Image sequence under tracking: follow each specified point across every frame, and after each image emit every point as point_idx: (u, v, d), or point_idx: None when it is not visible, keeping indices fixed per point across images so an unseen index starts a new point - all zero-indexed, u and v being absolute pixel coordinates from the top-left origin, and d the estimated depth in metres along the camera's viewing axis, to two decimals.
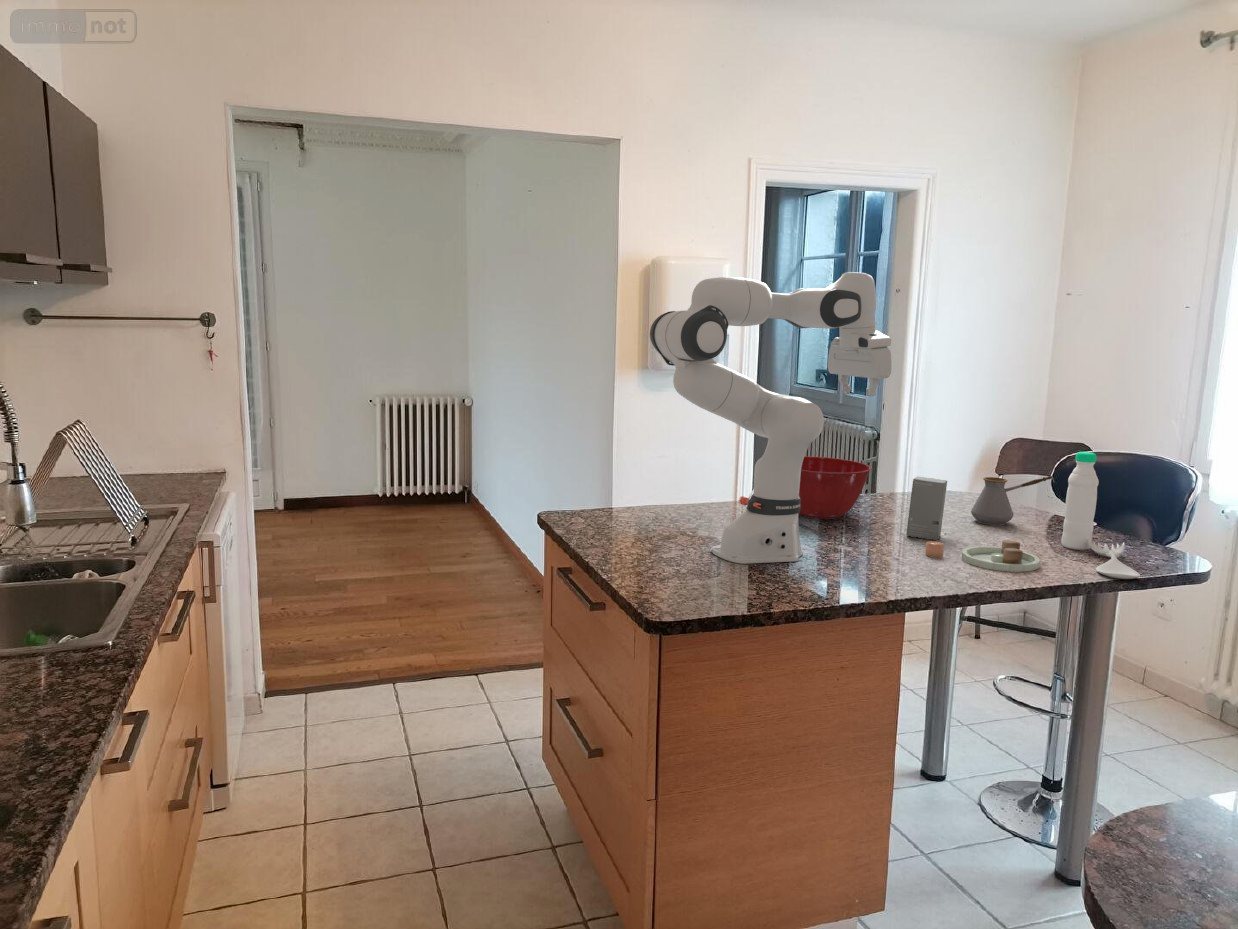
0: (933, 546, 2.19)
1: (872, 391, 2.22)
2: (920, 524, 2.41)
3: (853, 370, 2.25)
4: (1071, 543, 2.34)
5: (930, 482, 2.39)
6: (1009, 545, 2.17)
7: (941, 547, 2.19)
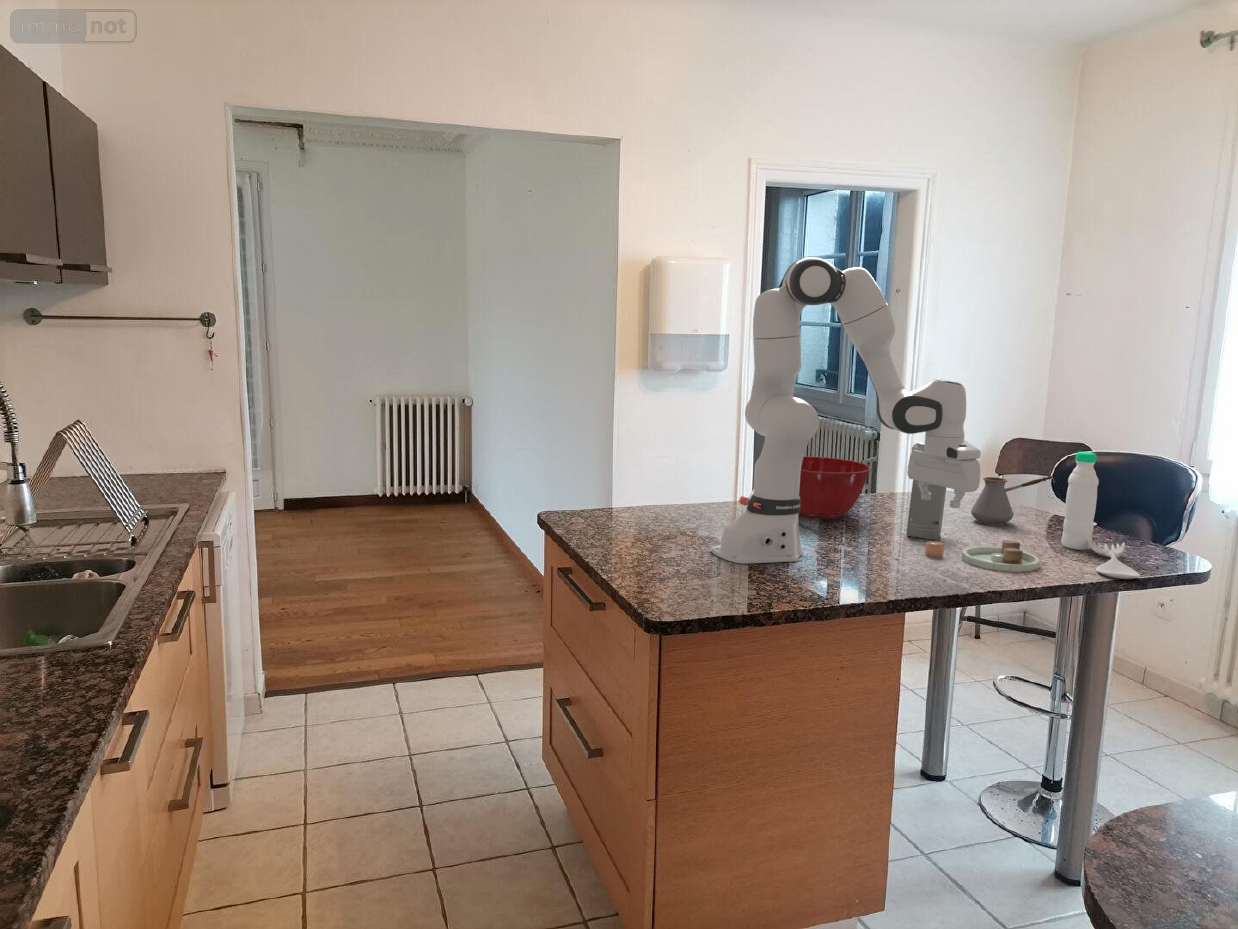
0: (933, 546, 2.19)
1: (956, 503, 2.14)
2: (920, 524, 2.41)
3: (936, 479, 2.17)
4: (1071, 543, 2.34)
5: None
6: (1009, 545, 2.17)
7: (941, 547, 2.19)
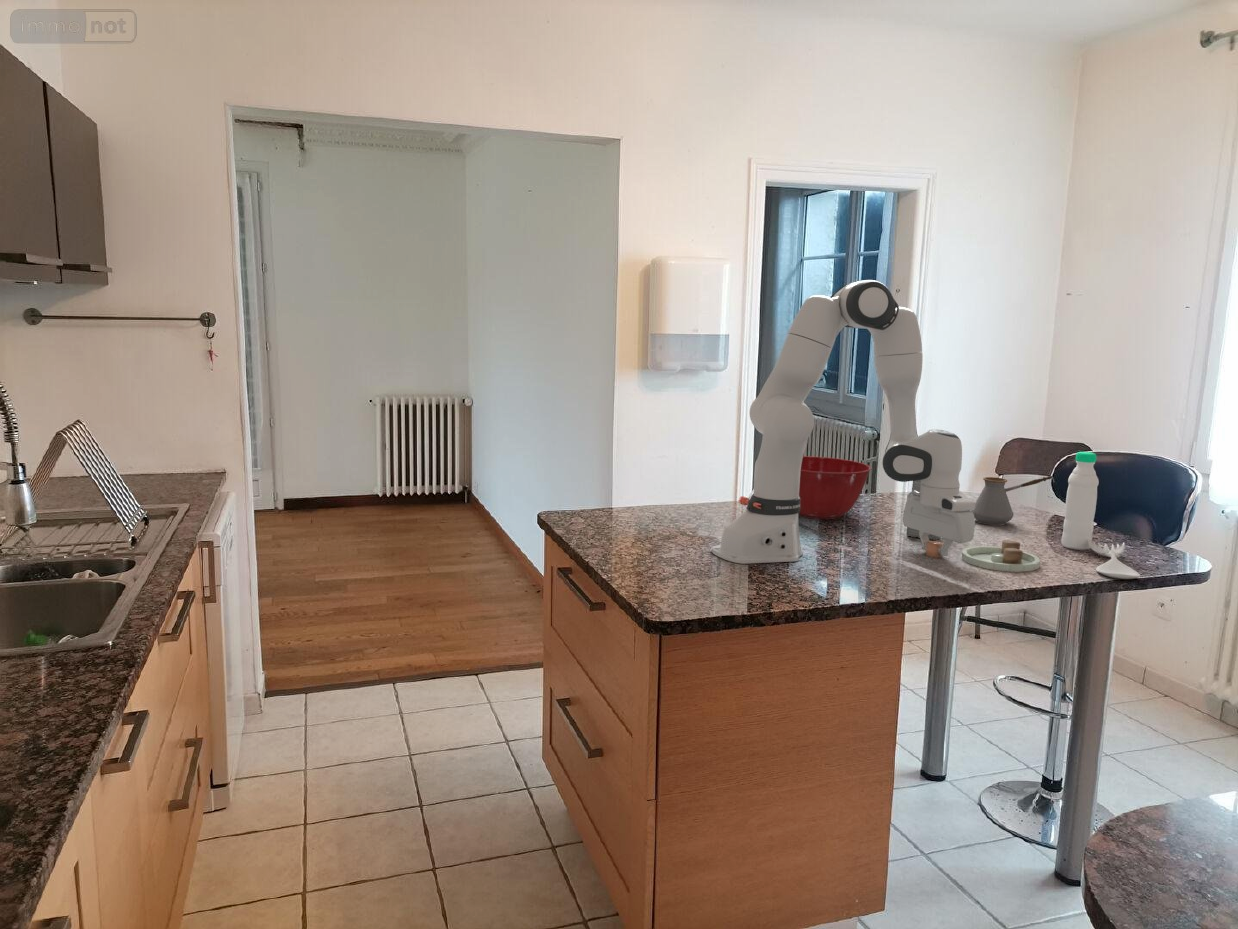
0: (933, 546, 2.19)
1: (944, 551, 2.17)
2: None
3: (931, 529, 2.19)
4: (1071, 543, 2.34)
5: None
6: (1009, 545, 2.17)
7: None
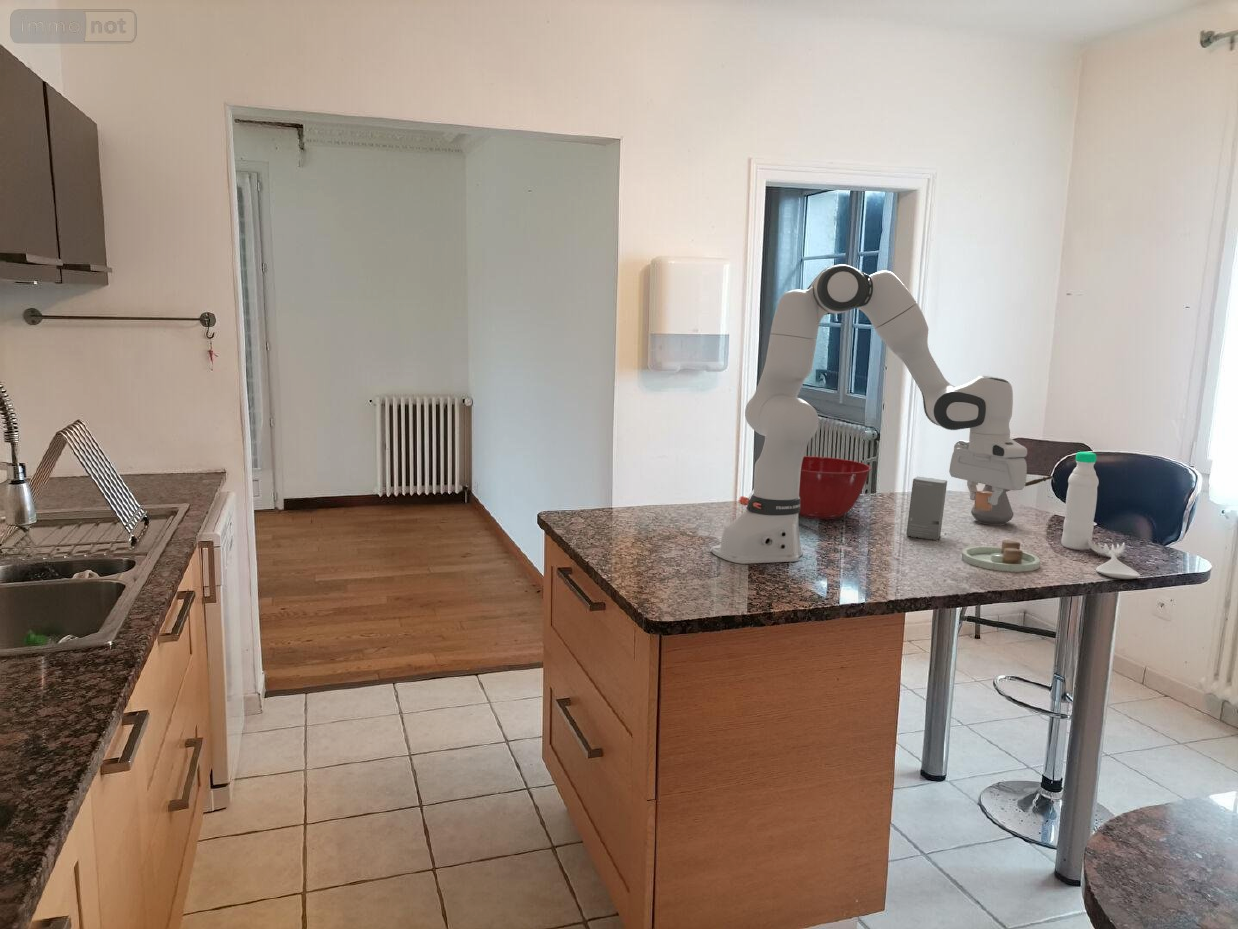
0: (983, 495, 2.14)
1: (994, 500, 2.13)
2: (920, 524, 2.41)
3: (981, 477, 2.14)
4: (1071, 543, 2.34)
5: (930, 482, 2.39)
6: (1009, 545, 2.17)
7: None
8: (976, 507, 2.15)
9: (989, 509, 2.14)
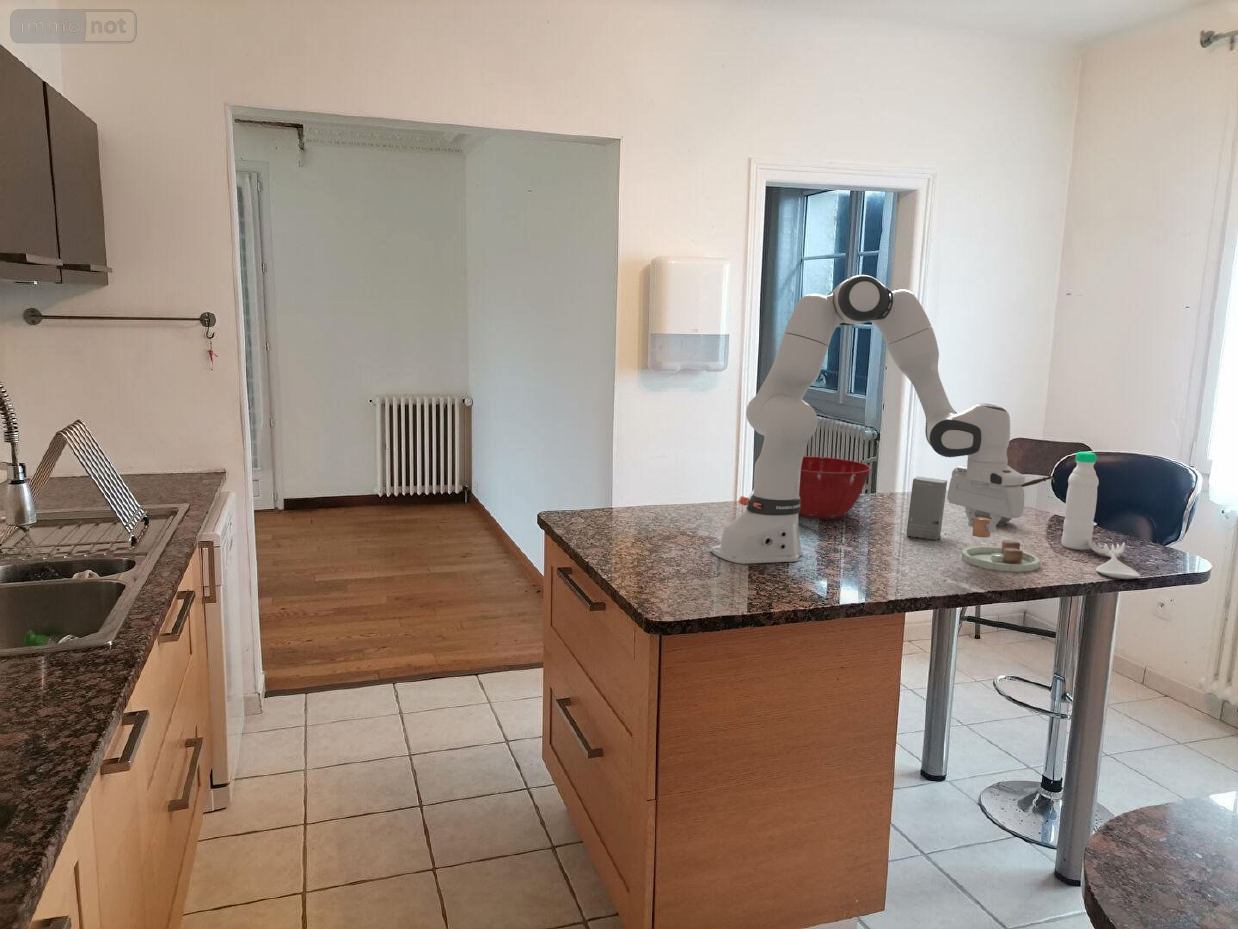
0: (981, 522, 2.15)
1: (992, 527, 2.14)
2: (920, 524, 2.41)
3: (979, 504, 2.15)
4: (1071, 543, 2.34)
5: (930, 482, 2.39)
6: (1009, 545, 2.17)
7: None
8: (974, 534, 2.17)
9: (987, 536, 2.15)
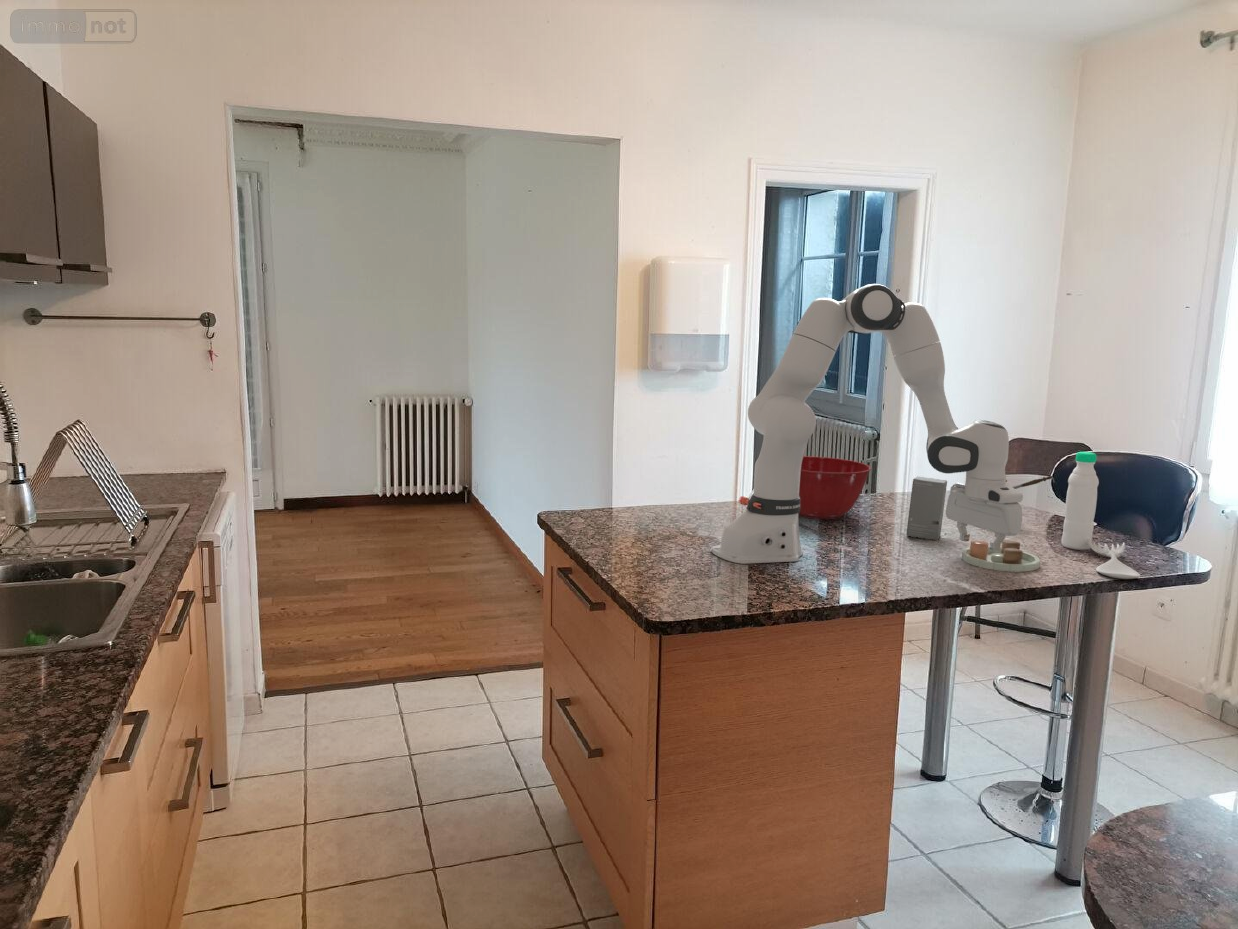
0: (978, 546, 2.16)
1: (997, 546, 2.12)
2: (920, 524, 2.41)
3: (976, 521, 2.16)
4: (1071, 543, 2.34)
5: (930, 482, 2.39)
6: (1009, 545, 2.17)
7: (986, 547, 2.16)
8: None
9: None
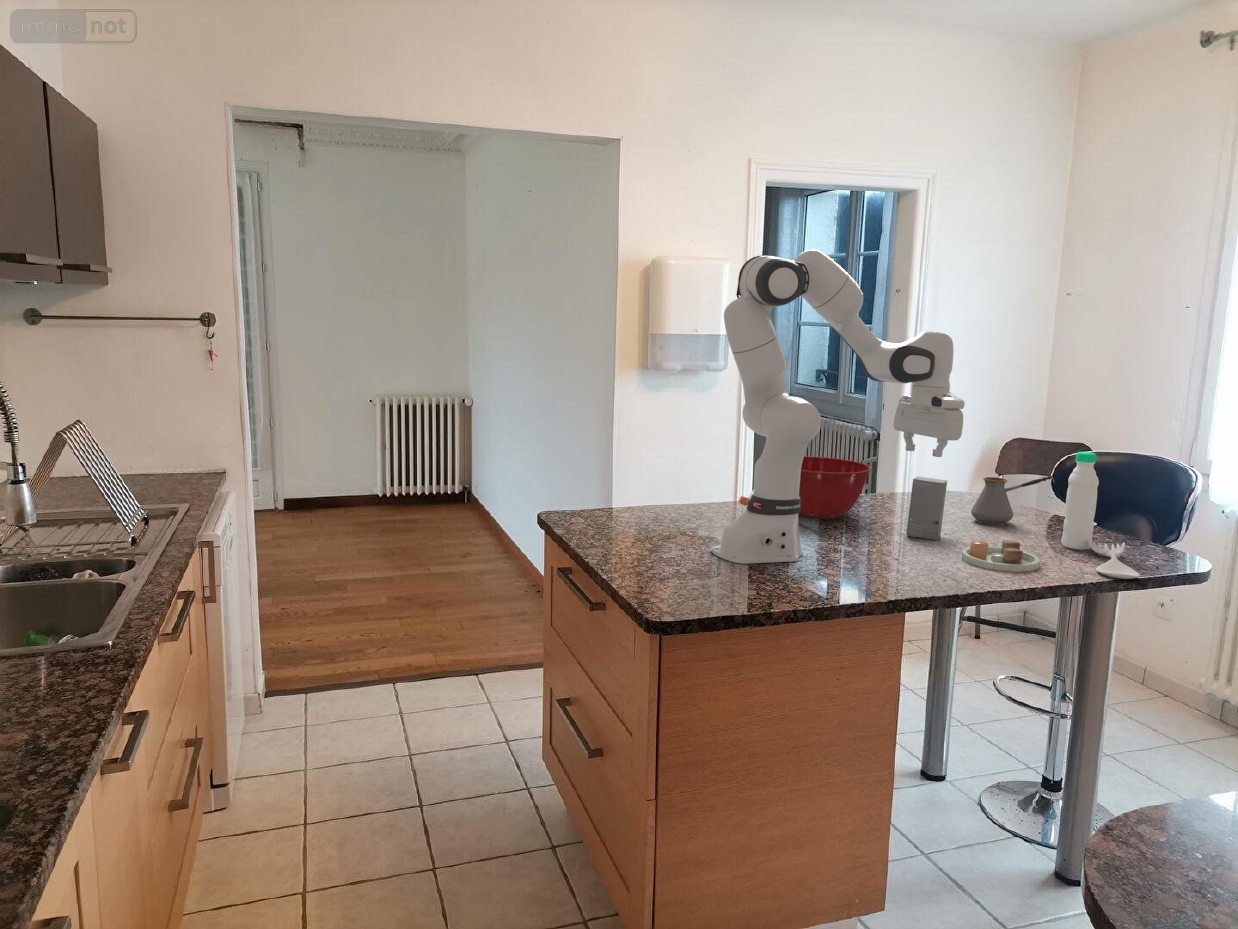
0: (978, 546, 2.16)
1: (939, 452, 2.19)
2: (920, 524, 2.41)
3: (921, 429, 2.23)
4: (1071, 543, 2.34)
5: (930, 482, 2.39)
6: (1009, 545, 2.17)
7: (986, 547, 2.16)
8: None
9: None
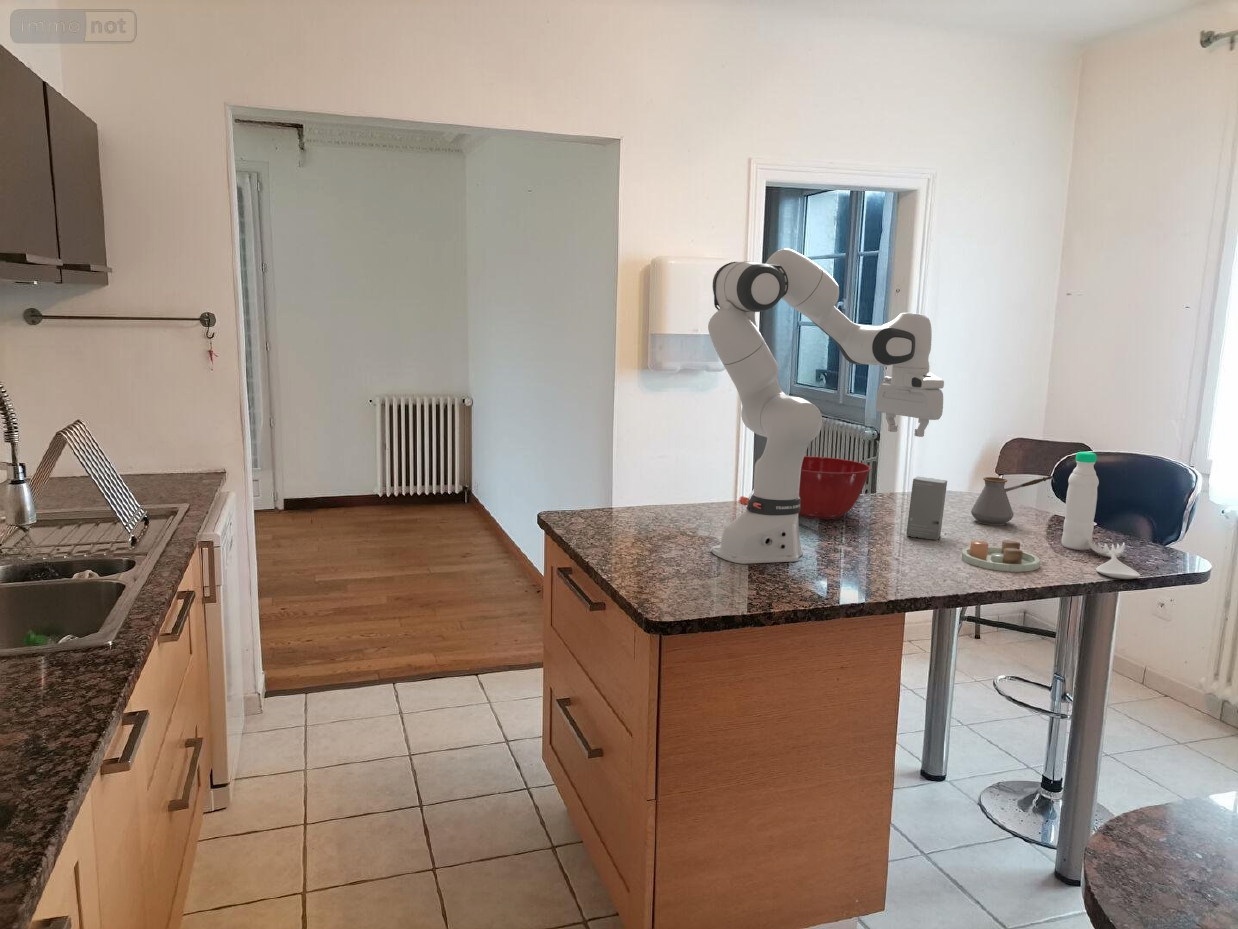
0: (978, 546, 2.16)
1: (921, 432, 2.23)
2: (920, 524, 2.41)
3: (902, 410, 2.26)
4: (1071, 543, 2.34)
5: (930, 482, 2.39)
6: (1009, 545, 2.17)
7: (986, 547, 2.16)
8: None
9: None
